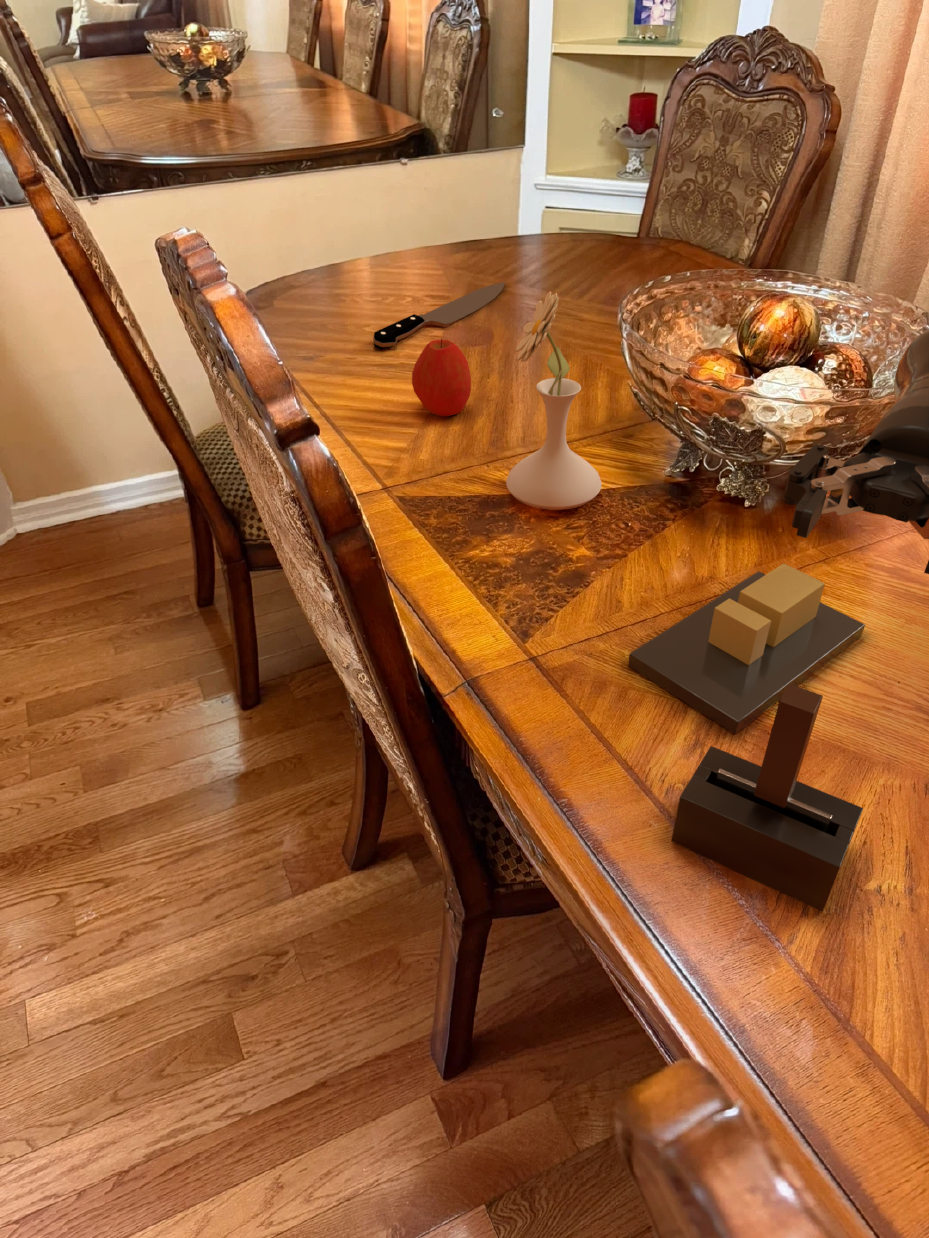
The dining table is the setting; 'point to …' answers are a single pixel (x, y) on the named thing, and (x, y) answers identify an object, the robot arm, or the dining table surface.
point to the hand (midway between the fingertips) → (866, 544)
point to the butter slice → (739, 631)
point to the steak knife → (436, 316)
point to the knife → (783, 760)
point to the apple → (442, 378)
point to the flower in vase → (552, 431)
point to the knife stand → (764, 832)
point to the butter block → (783, 600)
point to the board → (739, 662)
